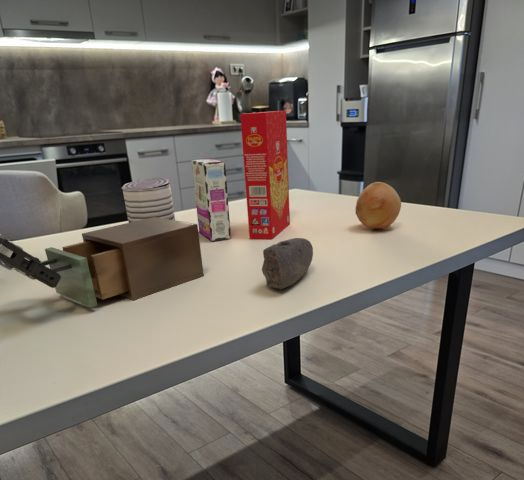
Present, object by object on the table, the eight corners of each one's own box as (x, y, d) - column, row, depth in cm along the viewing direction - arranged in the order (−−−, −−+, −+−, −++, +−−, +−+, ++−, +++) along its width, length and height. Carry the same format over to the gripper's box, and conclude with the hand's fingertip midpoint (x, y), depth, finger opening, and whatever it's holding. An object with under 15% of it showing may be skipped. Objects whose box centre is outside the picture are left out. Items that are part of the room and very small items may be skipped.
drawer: (53, 320, 68) (39, 270, 64) (21, 303, 75) (7, 257, 72) (164, 282, 80) (157, 239, 76) (127, 271, 87) (119, 230, 84)
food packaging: (272, 239, 105) (265, 112, 94) (249, 238, 107) (240, 114, 96) (289, 224, 118) (285, 110, 106) (269, 223, 119) (263, 112, 108)
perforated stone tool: (298, 265, 87) (296, 227, 83) (324, 269, 84) (324, 229, 81) (254, 293, 75) (251, 249, 72) (283, 297, 73) (281, 252, 70)
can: (186, 229, 119) (179, 178, 114) (149, 239, 112) (140, 186, 107) (157, 224, 126) (149, 177, 121) (121, 234, 119) (111, 183, 113)
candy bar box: (232, 238, 108) (226, 160, 100) (211, 242, 106) (203, 163, 99) (218, 229, 117) (211, 157, 110) (198, 232, 116) (189, 159, 108)
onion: (408, 230, 105) (411, 182, 100) (365, 235, 103) (367, 187, 98) (387, 222, 113) (390, 177, 109) (348, 226, 111) (349, 181, 107)
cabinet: (132, 300, 76) (121, 243, 71) (93, 285, 84) (81, 233, 80) (203, 275, 85) (197, 224, 81) (162, 264, 93) (154, 216, 89)
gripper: (-38, 188, 54) (83, 263, 67) (-73, 182, 63) (39, 249, 76) (-73, 245, 53) (56, 310, 66) (-104, 230, 63) (15, 290, 75)
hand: (46, 277), depth 71 cm, fingers closed on drawer, 6 cm apart
